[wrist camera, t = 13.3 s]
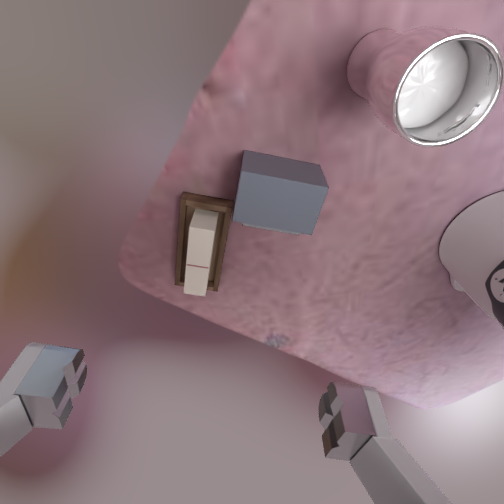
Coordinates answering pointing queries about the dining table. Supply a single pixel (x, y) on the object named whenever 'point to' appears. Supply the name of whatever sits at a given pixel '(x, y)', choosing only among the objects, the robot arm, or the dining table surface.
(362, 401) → the robot arm
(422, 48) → the beer glass
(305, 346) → the dining table surface
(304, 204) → the block
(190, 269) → the white slab
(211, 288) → the tray
